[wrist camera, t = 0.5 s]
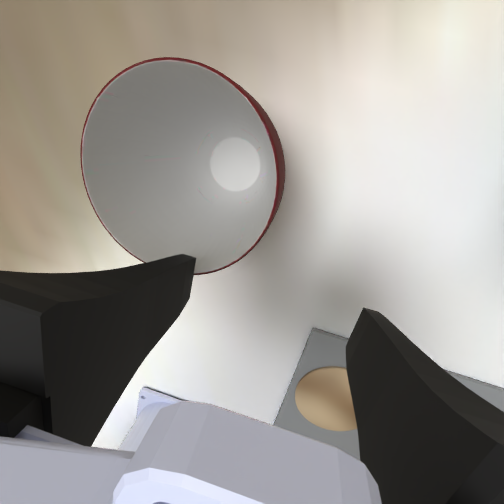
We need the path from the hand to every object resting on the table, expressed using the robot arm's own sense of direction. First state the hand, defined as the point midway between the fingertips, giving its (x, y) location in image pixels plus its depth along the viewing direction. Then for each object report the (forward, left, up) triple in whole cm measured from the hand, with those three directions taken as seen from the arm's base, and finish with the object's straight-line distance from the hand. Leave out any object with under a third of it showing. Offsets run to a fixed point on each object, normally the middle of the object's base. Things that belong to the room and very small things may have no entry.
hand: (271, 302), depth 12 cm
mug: (+3, +6, -10) cm, 12 cm away
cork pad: (-13, -8, -10) cm, 18 cm away
